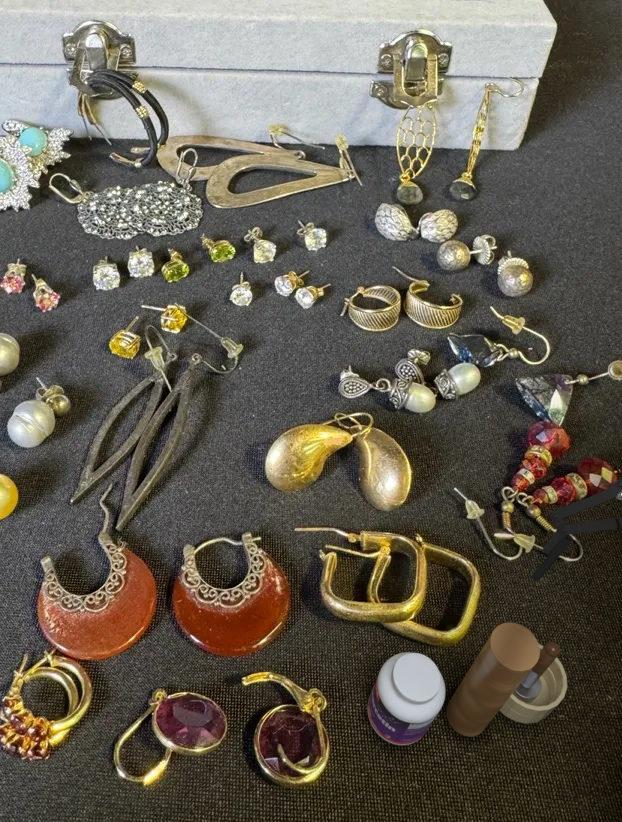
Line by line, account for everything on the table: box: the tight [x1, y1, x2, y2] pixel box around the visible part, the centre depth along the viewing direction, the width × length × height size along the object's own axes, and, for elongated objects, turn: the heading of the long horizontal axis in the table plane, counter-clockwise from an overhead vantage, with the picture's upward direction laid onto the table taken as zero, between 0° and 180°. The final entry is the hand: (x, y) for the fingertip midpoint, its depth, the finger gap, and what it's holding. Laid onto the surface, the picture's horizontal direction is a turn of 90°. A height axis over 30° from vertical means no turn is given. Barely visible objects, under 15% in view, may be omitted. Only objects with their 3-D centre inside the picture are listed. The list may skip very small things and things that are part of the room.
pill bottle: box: [366, 651, 446, 746], centre depth 99 cm, size 8×8×14 cm
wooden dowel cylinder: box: [445, 621, 540, 738], centre depth 95 cm, size 5×5×24 cm
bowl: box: [498, 643, 568, 725], centre depth 104 cm, size 9×9×6 cm
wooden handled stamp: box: [513, 640, 561, 704], centre depth 100 cm, size 4×4×15 cm
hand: (581, 618), depth 98 cm, fingers open, 13 cm apart
